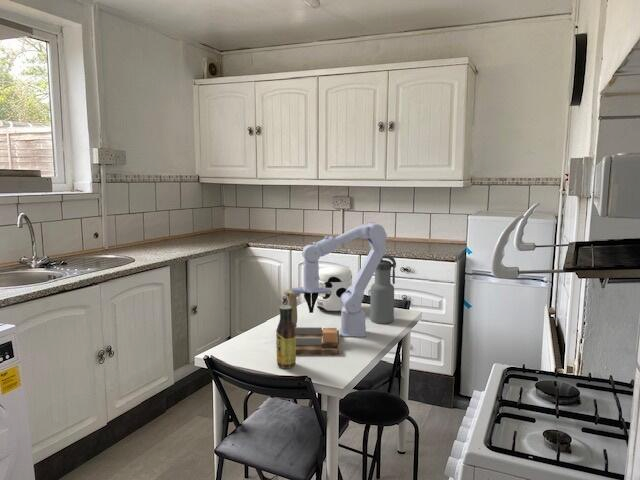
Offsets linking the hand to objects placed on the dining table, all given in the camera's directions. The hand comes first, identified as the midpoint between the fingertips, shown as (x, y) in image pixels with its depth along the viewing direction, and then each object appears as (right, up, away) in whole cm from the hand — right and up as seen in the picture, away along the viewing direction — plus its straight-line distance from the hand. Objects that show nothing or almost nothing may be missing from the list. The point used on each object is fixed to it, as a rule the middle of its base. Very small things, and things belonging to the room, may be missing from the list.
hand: (311, 312), depth 182 cm
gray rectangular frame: (-3, -9, -8) cm, 12 cm away
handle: (-8, -8, +11) cm, 15 cm away
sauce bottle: (-8, -14, -26) cm, 30 cm away
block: (+7, -9, -8) cm, 14 cm away
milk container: (+10, -4, +36) cm, 37 cm away
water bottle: (+29, -7, +19) cm, 36 cm away
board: (0, -11, -8) cm, 13 cm away
